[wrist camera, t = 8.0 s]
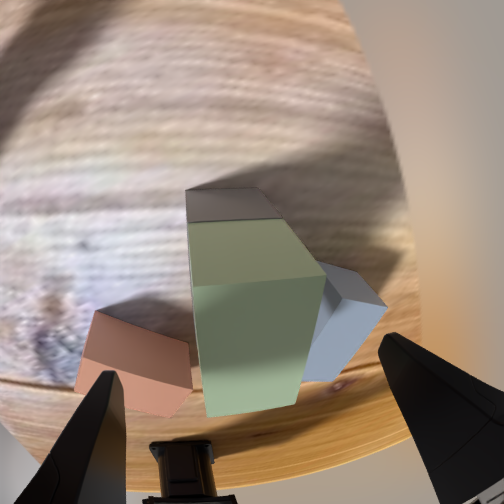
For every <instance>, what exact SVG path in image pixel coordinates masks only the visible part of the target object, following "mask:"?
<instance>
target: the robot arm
mask: <svg viewBox="0 0 504 504" xmlns="http://www.w3.org/2000/svg"><path fill="white" fill-rule="evenodd" d="M378 356H379V359H380V362H381V364H382V367H383V370H384V372H385V375H386V378H387V381H388V384H389V386H390V389H391V391H392V393H393V395H394V398H395V400H396V402H397V404H398V406H399V408H400V410H401V412H402V415H403V417H404V419H405V421H406V423H407V426H408V428H409V430H410V432H411V434H412V437H413V439H414V441H415V444H416V446H417V448H418V450H419V453H420V455H421V457H422V460H423V462H424V465H425V467H426V469H427V472H428V473H429V474H428V475H429V477H430V480H431V482H432V484H433V487H434V489H435V492H436V495H437V497H438V500H439V503H440V504H463V503H464V502H466V501H468V500H470V499H472V498H473V497H475V496H477V498H476V499H475V500H474V501H473V502H471V503H470V504H504V392H503V391H501V390H498V389H496V388H494V387H492V386H490V385H488V384H486V383H484V382H482V381H481V380H479V379H477V378H475V377H473V376H472V375H469V374H468V373H466V372H465V371H463V370H461V369H459V368H458V367H456V366H454V365H452V364H451V363H449V362H447V361H445V360H444V359H442V358H440V357H438V356H437V355H435V354H433V353H431V352H430V351H428V350H426V349H424V348H423V347H421V346H419V345H417V344H416V343H414V342H412V341H410V340H409V339H407V338H405V337H403V336H402V335H400V334H398V333H396V332H392V333H388V334H386V335H385V336H384V337H383V340H382V342H381V344H380V347H379V349H378ZM149 449H150V451H151V453H152V454H153V456H154V458H155V459H156V461H157V462H158V465H159V477H160V487H161V497H153V496H149V497H148V499H143V500H142V503H143V504H238V503H237V501H236V498H235V495H234V494H233V495H228V496H217V492H216V487H215V482H214V477H213V471H212V466H211V464H214V463H215V462H214V457H213V451H212V445H211V441H197V442H183V443H162V444H150V445H149ZM14 504H126V423H125V407H124V390H123V386H122V383H121V381H120V379H119V376H118V374H117V372H116V371H115V370H104V371H102V372H101V374H100V375H99V377H98V378H97V380H96V381H95V382H94V384H93V385H92V387H91V388H90V390H89V391H88V393H87V394H86V396H85V397H84V399H83V400H82V402H81V403H80V405H79V406H78V408H77V409H76V411H75V413H74V414H73V416H72V417H71V419H70V420H69V422H68V423H67V425H66V426H65V428H64V430H63V431H62V433H61V434H60V436H59V438H58V439H57V441H56V442H55V444H54V446H53V447H52V449H51V450H50V453H49V454H48V455H47V457H46V459H45V460H44V462H43V463H42V465H41V467H40V468H39V470H38V471H37V473H36V474H35V476H34V477H33V478H32V480H31V481H30V483H29V484H28V485H27V487H26V488H25V489H24V490H23V492H22V493H21V494H20V496H19V497H18V498H17V500H16V501H15V502H14Z"/></svg>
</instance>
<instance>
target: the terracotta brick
mask: <svg viewBox="0 0 504 504" xmlns="http://www.w3.org/2000/svg"><path fill="white" fill-rule="evenodd" d="M104 370H115V371H116V372H117V374H118V376H119V379H120V381H121V383H122V386H123V390H124V407H126V408H130V409H133V410H137V411H141V412H145V413H150V414H154V415H158V416H163V417H168V418H171V417H172V416H173V414H174V413H175V412H176V411H177V409H178V408H179V407H180V406H181V404H182V403H183V402H184V401H185V399H186V398H187V397H188V396H189V394H190V393H191V392H192V391H193V385H192V376H191V366H190V356H189V346H188V343H186V342H183V341H180V340H177V339H174V338H170V337H167V336H164V335H161V334H158V333H155V332H152V331H149V330H147V329H144V328H141V327H138V326H135V325H132V324H130V323H127V322H124V321H122V320H119V319H116V318H114V317H111V316H108V315H106V314H103V313H101V312H98V311H96V310H95V313H94V316H93V319H92V322H91V325H90V328H89V331H88V335H87V338H86V341H85V345H84V348H83V352H82V357H81V361H80V365H79V370H78V374H77V379H76V384H75V389H74V391H75V392H78V393H81V394H83V395H86V394H87V393H88V391H89V390H90V388H91V387H92V385H93V384H94V382H95V381H96V380H97V378H98V377H99V375H100V374H101V372H102V371H104Z"/></svg>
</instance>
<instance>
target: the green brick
mask: <svg viewBox="0 0 504 504" xmlns="http://www.w3.org/2000/svg"><path fill="white" fill-rule="evenodd" d="M188 237H189V255H190V270H191V284H192V296H193V308H194V319H195V329H196V339H197V348H198V356H199V364H200V372H201V379H202V386H203V393H204V400H205V407H206V413H207V418H208V417H218V416H226V415H234V414H241V413H248V412H255V411H261V410H267V409H272V408H278V407H283V406H288V405H293V404H295V402H296V399H297V395H298V392H299V388H300V385H301V381H302V377H303V374H304V370H305V366H306V362H307V359H308V355H309V351H310V347H311V343H312V339H313V335H314V331H315V326H316V322H317V318H318V314H319V309H320V305H321V300H322V296H323V291H324V286H325V281H326V276H327V275H326V273H325V272H324V271H323V269H322V268H321V267H320V265H319V264H318V263H317V261H316V260H315V259H314V258H313V256H312V255H311V254H310V252H309V251H308V250H307V249H306V247H305V246H304V245H303V243H302V242H301V241H300V240H299V238H298V237H297V236H296V234H295V233H294V232H293V231H292V229H291V228H290V227H289V226H288V224H287V223H286V222H285V221H284V219H264V220H241V221H220V222H202V223H188Z"/></svg>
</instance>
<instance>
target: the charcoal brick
mask: <svg viewBox="0 0 504 504" xmlns="http://www.w3.org/2000/svg"><path fill="white" fill-rule="evenodd" d="M185 193H186V219H187V239H188V256H189V271H190V284H191V270H190V255H189V237H188V223H202V222H220V221H241V220H264V219H283V217H282V216H281V215H280V214H279V212H278V211H277V210H276V209H275V207H274V206H273V205H272V204H271V203H270V201H269V200H268V199H267V198H266V196H265V195H264V194H263V193H262V192H261V190H260V189H259V188H225V189H200V190H185ZM191 296H192V284H191ZM192 307H193V296H192ZM193 317H194V308H193ZM194 326H195V319H194ZM195 335H196V329H195ZM196 344H197V339H196Z"/></svg>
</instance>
